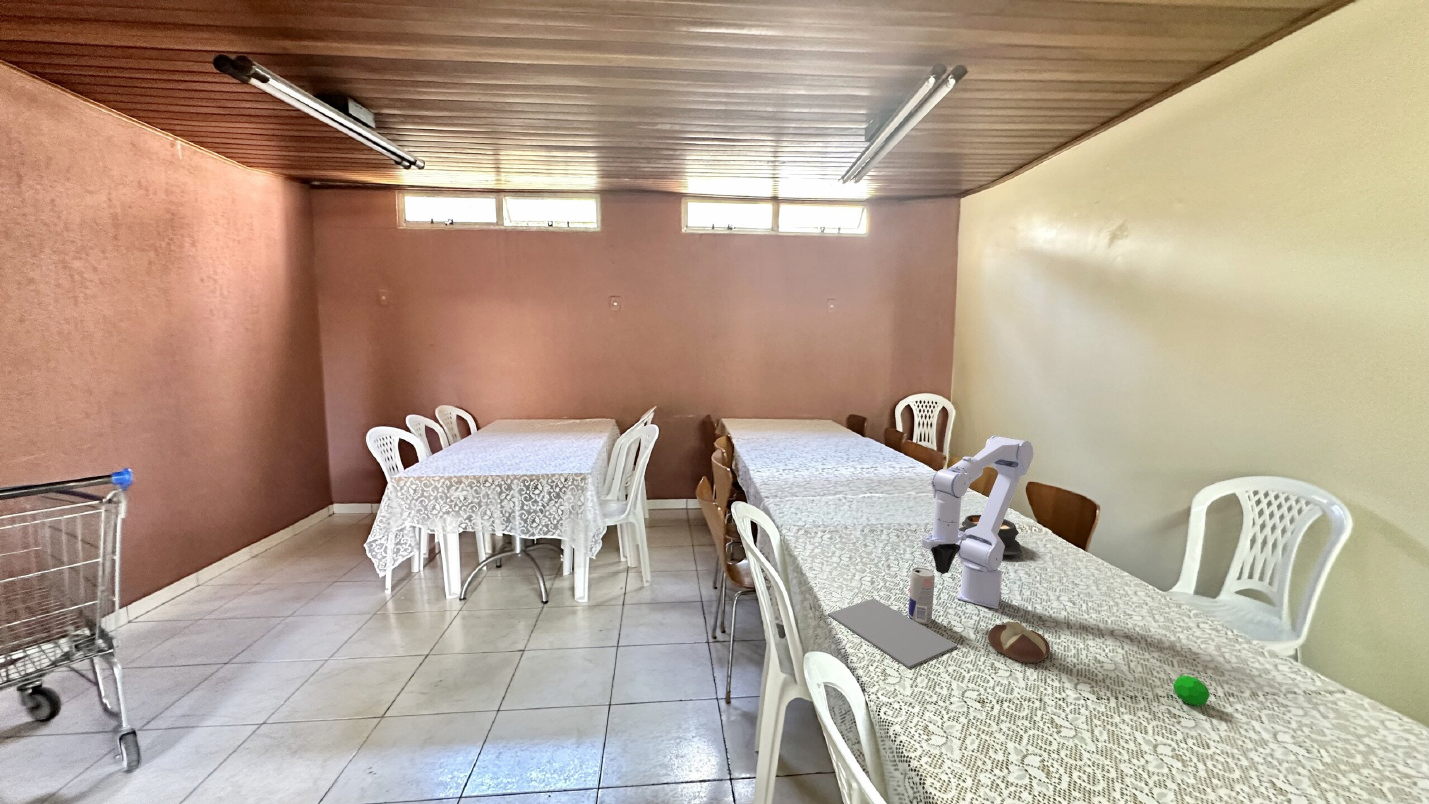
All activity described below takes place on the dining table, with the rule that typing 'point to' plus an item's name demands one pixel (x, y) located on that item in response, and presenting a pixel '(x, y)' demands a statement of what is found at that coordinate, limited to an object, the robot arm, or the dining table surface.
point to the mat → (892, 632)
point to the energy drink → (921, 595)
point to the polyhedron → (1191, 690)
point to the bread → (1018, 642)
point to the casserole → (1005, 534)
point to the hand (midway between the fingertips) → (942, 571)
